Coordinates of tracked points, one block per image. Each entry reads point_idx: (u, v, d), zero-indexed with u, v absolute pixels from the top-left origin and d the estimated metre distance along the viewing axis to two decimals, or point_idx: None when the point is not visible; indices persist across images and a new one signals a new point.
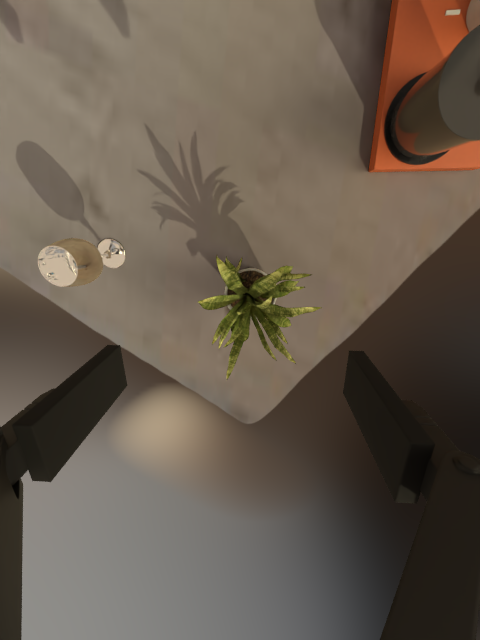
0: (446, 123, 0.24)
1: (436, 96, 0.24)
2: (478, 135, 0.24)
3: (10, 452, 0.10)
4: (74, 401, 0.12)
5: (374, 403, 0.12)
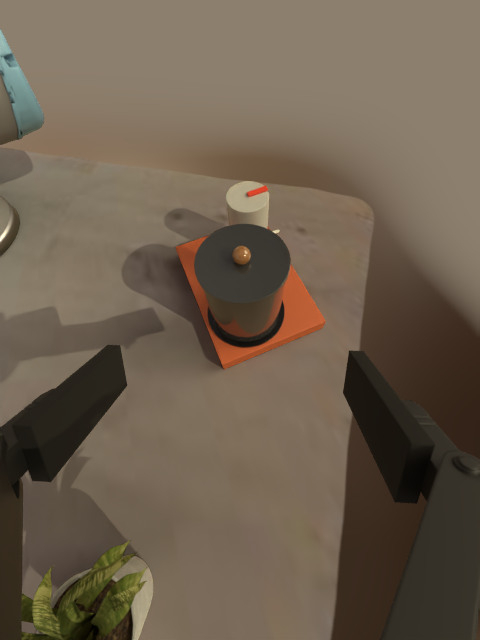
0: (222, 299, 0.22)
1: (201, 286, 0.23)
2: (260, 295, 0.22)
3: (10, 452, 0.10)
4: (74, 401, 0.12)
5: (374, 403, 0.12)
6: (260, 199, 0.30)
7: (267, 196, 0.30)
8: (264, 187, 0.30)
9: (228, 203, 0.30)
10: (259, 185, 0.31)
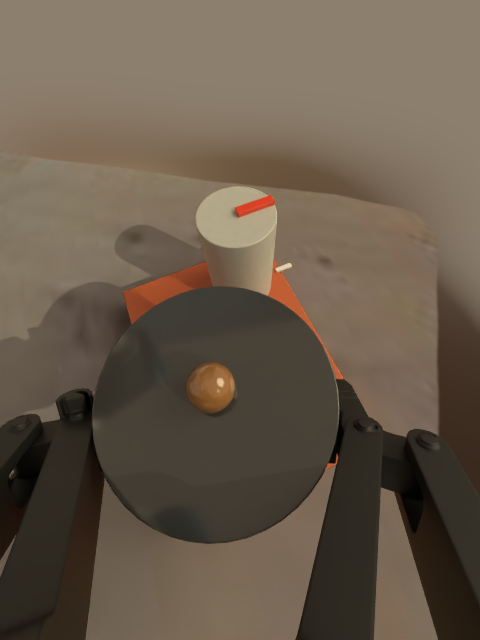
0: (154, 524, 0.08)
1: None
2: (261, 517, 0.08)
3: None
4: None
5: None
6: (260, 221, 0.16)
7: (274, 215, 0.16)
8: (268, 198, 0.16)
9: (199, 229, 0.16)
10: (258, 194, 0.17)
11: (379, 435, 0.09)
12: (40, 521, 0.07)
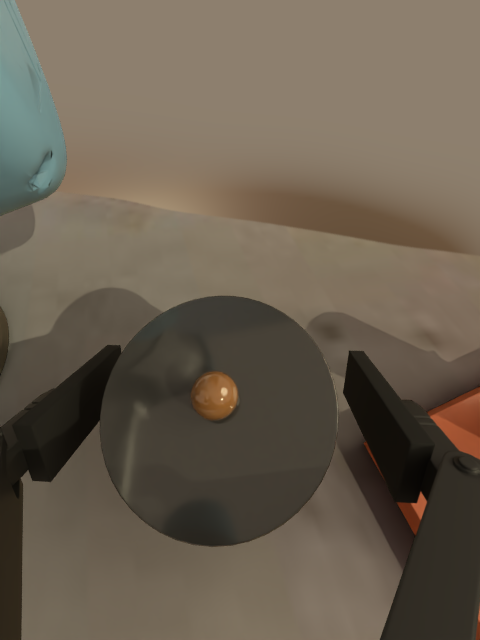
0: (160, 528, 0.08)
1: None
2: (263, 521, 0.08)
3: (10, 452, 0.10)
4: (74, 401, 0.12)
5: (374, 403, 0.12)
6: None
7: None
8: None
9: None
10: None
11: None
12: None
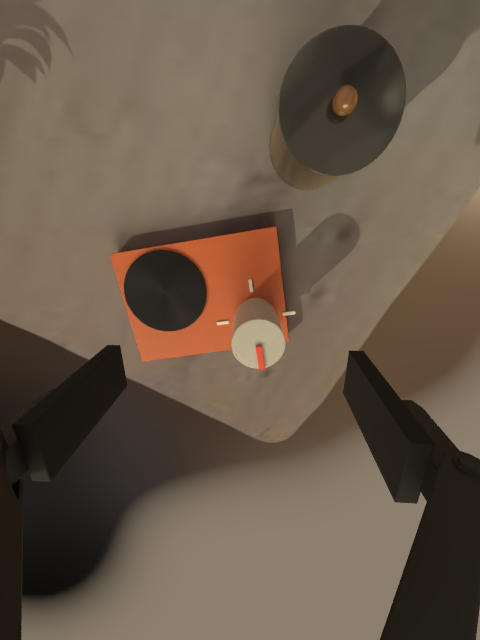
0: (293, 61, 0.18)
1: None
2: (283, 117, 0.19)
3: (10, 452, 0.10)
4: (74, 401, 0.12)
5: (374, 403, 0.12)
6: (247, 357, 0.25)
7: (250, 366, 0.25)
8: (262, 367, 0.25)
9: (253, 320, 0.23)
10: (271, 362, 0.25)
11: None
12: None
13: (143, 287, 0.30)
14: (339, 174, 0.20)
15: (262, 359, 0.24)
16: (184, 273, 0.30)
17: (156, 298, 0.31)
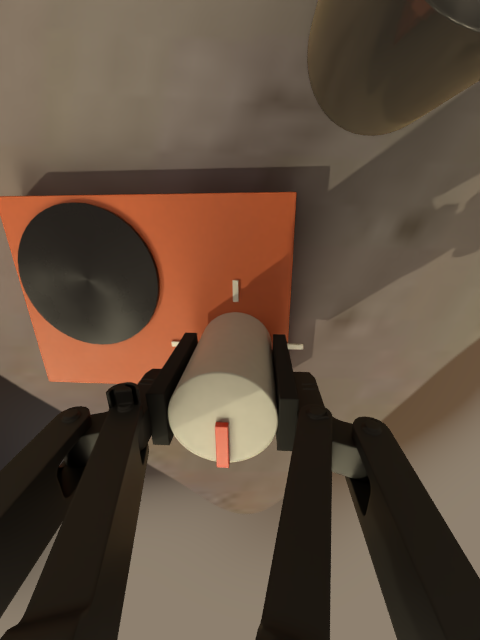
0: None
1: None
2: None
3: (143, 421, 0.11)
4: (178, 378, 0.14)
5: (275, 374, 0.14)
6: (198, 439, 0.12)
7: (200, 454, 0.12)
8: (224, 463, 0.12)
9: (218, 374, 0.11)
10: (243, 455, 0.12)
11: (329, 421, 0.10)
12: (85, 509, 0.07)
13: (51, 264, 0.17)
14: None
15: (226, 450, 0.12)
16: (122, 251, 0.17)
17: (73, 287, 0.18)
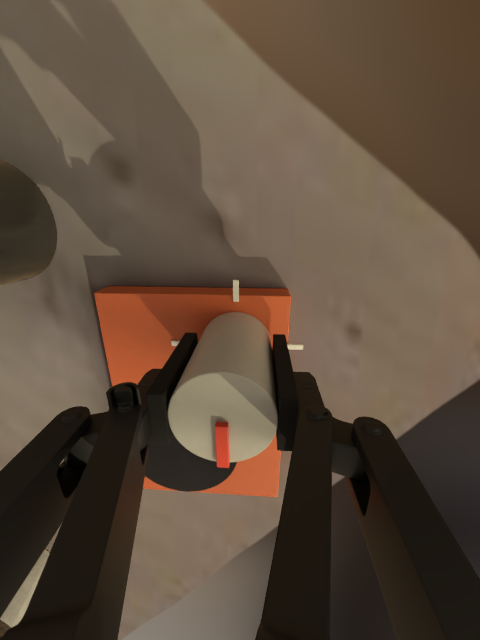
0: None
1: None
2: None
3: (144, 421, 0.11)
4: (179, 378, 0.14)
5: (275, 374, 0.14)
6: (198, 439, 0.12)
7: (200, 455, 0.12)
8: (224, 463, 0.12)
9: (218, 374, 0.11)
10: (243, 455, 0.12)
11: (329, 421, 0.10)
12: (85, 509, 0.07)
13: (172, 470, 0.23)
14: None
15: (226, 450, 0.12)
16: None
17: (188, 461, 0.22)
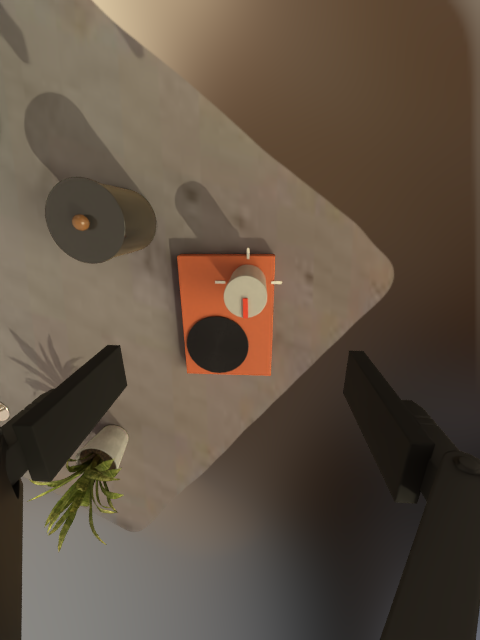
0: (64, 251, 0.29)
1: None
2: (92, 260, 0.30)
3: (10, 452, 0.10)
4: (74, 401, 0.12)
5: (374, 403, 0.12)
6: (235, 306, 0.30)
7: (236, 314, 0.31)
8: (245, 316, 0.30)
9: (244, 276, 0.29)
10: (253, 313, 0.31)
11: None
12: None
13: (211, 359, 0.41)
14: (124, 225, 0.28)
15: (246, 309, 0.30)
16: (204, 329, 0.40)
17: (220, 352, 0.41)
